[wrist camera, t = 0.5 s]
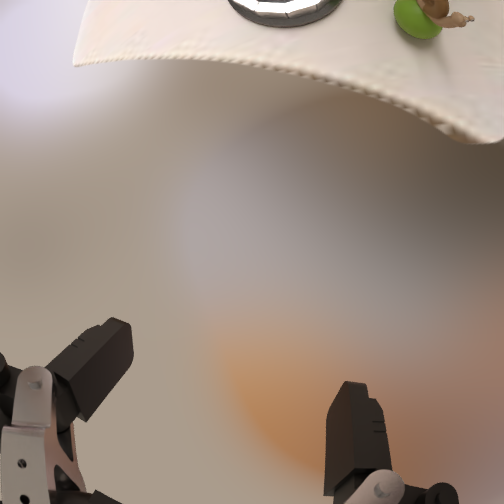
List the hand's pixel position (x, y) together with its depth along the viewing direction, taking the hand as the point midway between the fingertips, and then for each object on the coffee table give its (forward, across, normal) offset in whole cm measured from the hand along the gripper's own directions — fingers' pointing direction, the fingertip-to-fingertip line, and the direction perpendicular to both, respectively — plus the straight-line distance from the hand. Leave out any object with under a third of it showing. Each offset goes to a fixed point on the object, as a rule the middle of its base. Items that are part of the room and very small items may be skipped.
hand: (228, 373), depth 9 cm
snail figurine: (+22, -11, -26) cm, 36 cm away
